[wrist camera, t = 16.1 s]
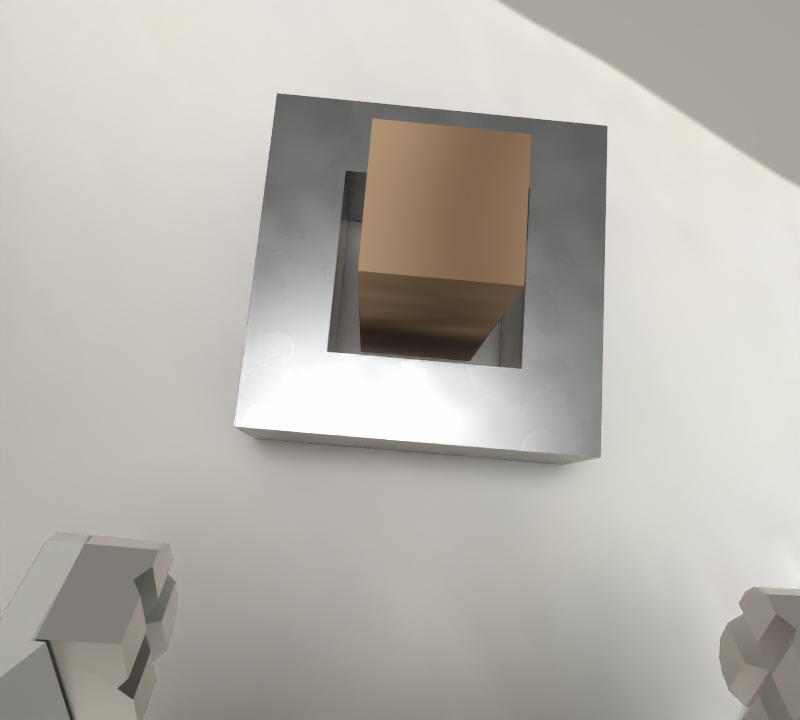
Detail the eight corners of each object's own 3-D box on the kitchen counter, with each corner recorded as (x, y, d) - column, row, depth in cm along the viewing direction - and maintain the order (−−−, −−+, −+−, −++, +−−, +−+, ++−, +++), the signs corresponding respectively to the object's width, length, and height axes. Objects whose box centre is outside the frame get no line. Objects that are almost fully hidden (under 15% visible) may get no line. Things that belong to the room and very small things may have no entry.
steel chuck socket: (255, 438, 24) (233, 426, 20) (290, 153, 27) (277, 93, 23) (563, 464, 25) (600, 457, 21) (572, 180, 27) (607, 125, 23)
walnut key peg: (360, 351, 25) (357, 270, 16) (370, 248, 26) (372, 118, 17) (469, 361, 25) (524, 286, 17) (475, 257, 26) (531, 133, 17)
